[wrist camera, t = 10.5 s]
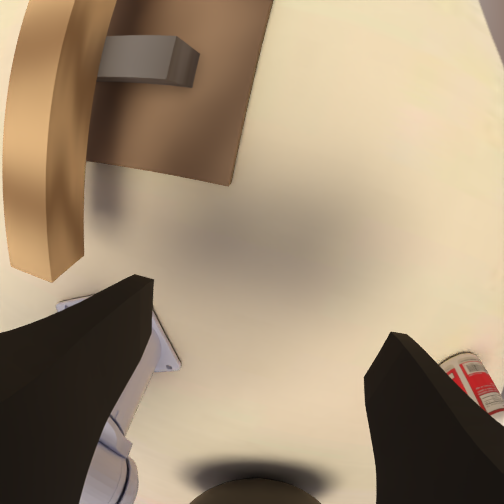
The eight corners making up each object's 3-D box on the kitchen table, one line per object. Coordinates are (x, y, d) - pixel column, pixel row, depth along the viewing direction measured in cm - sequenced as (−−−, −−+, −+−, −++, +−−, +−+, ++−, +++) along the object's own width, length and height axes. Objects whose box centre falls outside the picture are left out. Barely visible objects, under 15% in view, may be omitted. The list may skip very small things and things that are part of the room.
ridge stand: (26, 150, 17) (-21, 164, 13) (54, -1, 12) (10, -14, 8) (231, 182, 17) (213, 206, 13) (275, -9, 12) (273, -49, 8)
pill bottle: (424, 404, 24) (453, 495, 14) (421, 368, 22) (460, 474, 12) (476, 379, 23) (515, 462, 13) (480, 339, 21) (533, 432, 11)
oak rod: (84, 255, 15) (51, 282, 12) (44, 243, 14) (10, 266, 12) (160, -99, 6) (139, -126, 3) (111, -89, 6) (85, -111, 3)
